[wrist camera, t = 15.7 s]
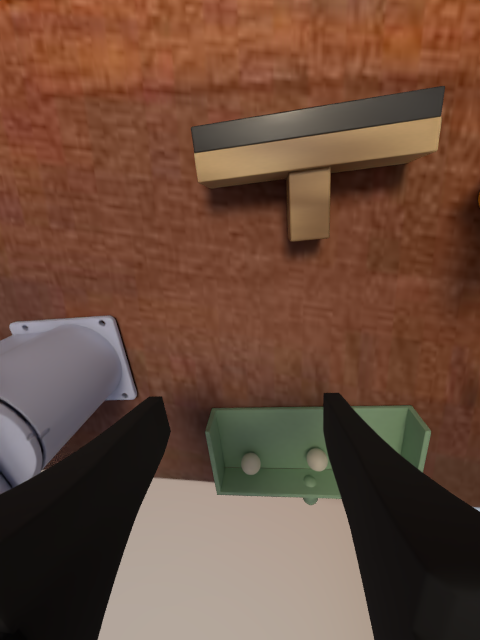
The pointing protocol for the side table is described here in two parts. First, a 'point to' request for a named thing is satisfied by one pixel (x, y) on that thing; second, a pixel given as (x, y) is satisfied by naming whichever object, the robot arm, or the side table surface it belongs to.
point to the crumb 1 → (250, 463)
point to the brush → (318, 149)
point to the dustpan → (297, 447)
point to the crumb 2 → (317, 459)
